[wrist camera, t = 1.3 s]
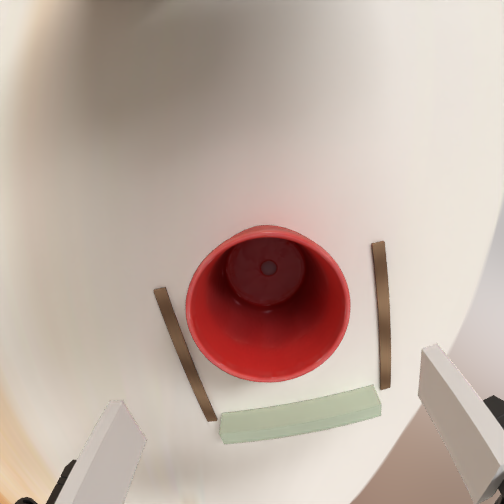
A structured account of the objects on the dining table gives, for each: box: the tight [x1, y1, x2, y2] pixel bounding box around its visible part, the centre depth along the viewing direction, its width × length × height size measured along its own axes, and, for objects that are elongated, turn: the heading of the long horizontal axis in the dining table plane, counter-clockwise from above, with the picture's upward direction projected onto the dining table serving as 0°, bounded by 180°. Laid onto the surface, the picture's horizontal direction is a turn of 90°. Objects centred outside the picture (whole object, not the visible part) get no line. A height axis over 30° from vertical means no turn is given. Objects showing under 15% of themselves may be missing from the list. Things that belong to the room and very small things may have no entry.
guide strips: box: [154, 241, 391, 422], centre depth 31 cm, size 18×22×1 cm
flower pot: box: [186, 225, 350, 382], centre depth 24 cm, size 11×11×10 cm
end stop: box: [219, 385, 381, 444], centre depth 32 cm, size 2×18×4 cm, turn 103°
